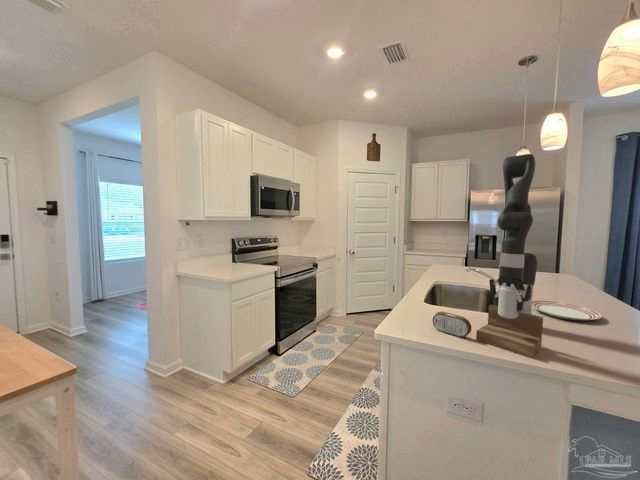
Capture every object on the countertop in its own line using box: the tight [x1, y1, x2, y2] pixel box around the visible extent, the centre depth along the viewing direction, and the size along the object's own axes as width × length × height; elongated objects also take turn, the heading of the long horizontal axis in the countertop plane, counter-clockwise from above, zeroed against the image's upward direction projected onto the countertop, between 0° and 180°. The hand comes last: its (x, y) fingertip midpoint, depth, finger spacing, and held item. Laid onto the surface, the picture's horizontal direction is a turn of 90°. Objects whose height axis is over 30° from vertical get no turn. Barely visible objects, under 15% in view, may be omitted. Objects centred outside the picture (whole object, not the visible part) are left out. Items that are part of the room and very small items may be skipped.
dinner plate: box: [532, 299, 603, 321], centre depth 142 cm, size 27×27×3 cm
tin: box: [432, 311, 472, 338], centre depth 117 cm, size 15×3×8 cm, turn 45°
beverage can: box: [498, 285, 520, 319], centre depth 106 cm, size 6×6×12 cm
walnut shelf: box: [475, 304, 544, 359], centre depth 107 cm, size 12×18×12 cm, turn 39°
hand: (508, 308), depth 106 cm, fingers closed on beverage can, 6 cm apart
